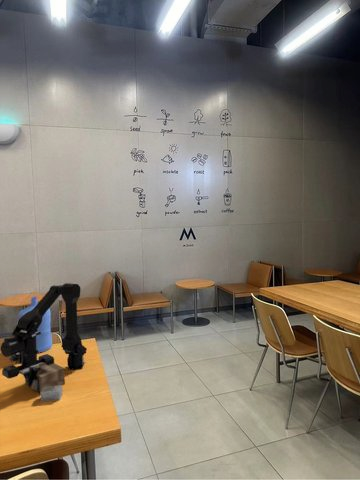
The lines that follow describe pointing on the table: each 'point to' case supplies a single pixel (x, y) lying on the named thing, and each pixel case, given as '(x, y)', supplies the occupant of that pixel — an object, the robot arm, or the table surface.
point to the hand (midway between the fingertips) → (29, 386)
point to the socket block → (49, 376)
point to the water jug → (41, 328)
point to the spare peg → (51, 393)
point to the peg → (35, 384)
